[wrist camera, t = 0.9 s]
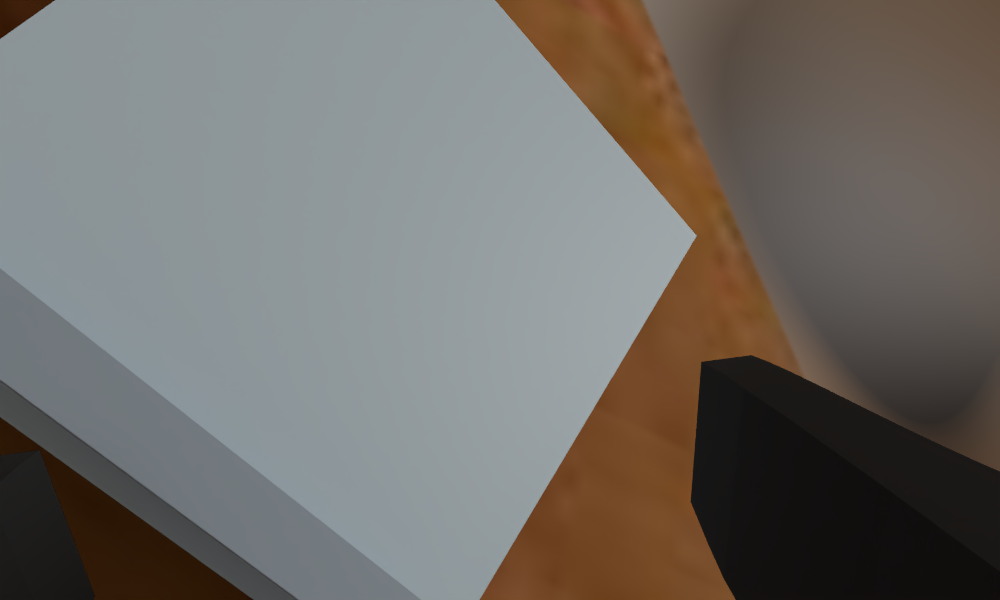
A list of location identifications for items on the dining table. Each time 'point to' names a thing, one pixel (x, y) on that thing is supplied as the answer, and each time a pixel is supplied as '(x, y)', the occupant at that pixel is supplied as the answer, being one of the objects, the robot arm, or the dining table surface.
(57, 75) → the lid
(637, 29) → the dining table surface
